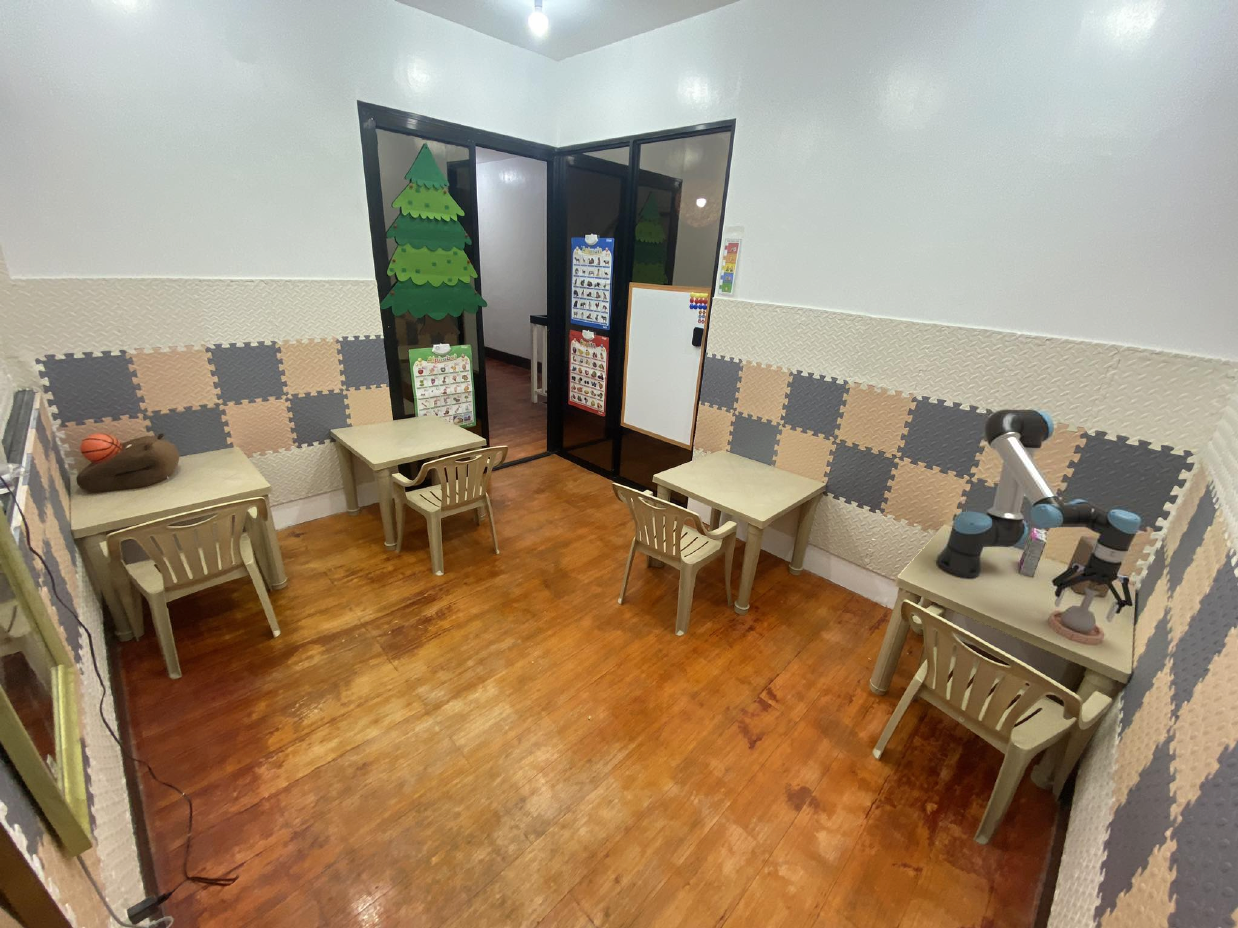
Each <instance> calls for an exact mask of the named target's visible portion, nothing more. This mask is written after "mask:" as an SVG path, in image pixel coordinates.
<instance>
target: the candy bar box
mask: <svg viewBox="0 0 1238 928" xmlns="http://www.w3.org/2000/svg"><path fill="white" fill-rule="evenodd" d="M1027 537H1028V538H1027V539H1026V543H1025V546H1024V549H1023V551H1022V554H1021V557H1020V560H1019V563H1018V567H1019V568H1018V573H1019V574H1021V575H1025V576H1027V577H1031V578H1033V577H1034V575H1035V573H1036V570H1037V567H1038V565H1039V563H1040V560H1041V558H1042V555H1043V552H1044V551H1045V547H1046V545H1047V543H1048V542H1047V531H1046V530H1043V529H1039V528H1036V527H1031V529H1030V532H1029V533H1028V536H1027Z"/></svg>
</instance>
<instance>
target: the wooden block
mask: <svg viewBox="0 0 1238 928" xmlns="http://www.w3.org/2000/svg"><path fill="white" fill-rule="evenodd" d="M1097 540H1098V537H1093V536H1085V535H1082V536H1080V538H1079V539H1078V543H1077V545H1076V547H1075V550H1074V552H1073V554H1072V556H1071V559H1070V561H1069V564H1068V566H1067V569H1069V568H1070V567H1071V566H1072V564H1073V563H1074V562H1076V563H1078V564H1079V565H1081V566H1085V565H1086V564H1087V562H1088V560H1089V558H1090V555H1091V554H1092V553H1093V549H1094V546H1095V544H1096V542H1097ZM1067 569H1066V570H1067ZM1081 573H1084V571H1083V570H1080V571H1077V572H1076V573H1075V574H1073V575H1072V576H1070V577H1069V578H1068V579H1070V578H1073V577H1075V576H1078V575H1079V574H1081ZM1068 579H1066V580H1068ZM1113 582H1114V581H1112V582H1111V583H1112V584H1113ZM1089 583H1093V582H1090V581H1089V580H1088V581H1085V582H1080V583H1078V584H1075V585H1073V586H1070V587H1071V589H1073V590H1074V591H1075V592H1076V593H1079V594H1083V595H1084V594H1086V592H1085V586H1086V585H1089ZM1098 589H1100V592H1099V594H1098V595H1096V596H1098V597H1106V596H1107V594H1108V592H1109V590H1110V589H1109V587H1108V586H1107V584H1103V585H1101V584H1100V587H1099V588H1098Z"/></svg>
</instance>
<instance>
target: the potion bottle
mask: <svg viewBox="0 0 1238 928" xmlns="http://www.w3.org/2000/svg"><path fill="white" fill-rule="evenodd" d="M1099 587H1100V584H1098V583H1089V585H1086V586H1085V592H1086V594H1085V595H1084V597H1083V599H1082V601H1081V603H1080V605H1074V604H1073V605H1071V606H1068V607H1067V608H1066V609H1065V610H1063V611H1064V612H1063V613H1062V614H1061V620H1062V622H1063V623H1062V625H1063V626H1064V627H1065V628H1067V629H1069V630H1071V631H1073V632H1076V633H1079V634H1083V635H1085V634H1088V632H1091V631H1092V630H1093V629H1094V628H1095V626H1096V624H1097V621H1096V617H1095V613H1094V612H1092V611H1091V610H1090V607H1091V604H1092V603H1093V600H1094V599H1095V596H1096V595H1098V594H1099V592H1100V589H1098V588H1099Z"/></svg>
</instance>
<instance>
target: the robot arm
mask: <svg viewBox="0 0 1238 928" xmlns="http://www.w3.org/2000/svg"><path fill="white" fill-rule="evenodd" d="M1054 430H1055V426H1054V420H1053V419H1052V418H1051V416H1050V415H1049V414H1048V413H1047V412H1045V411H1043V410H1035V409H1008V408H1007V409H1000V410H996V411H995V412H993V413H991V415H989V417H987V419H986V420H985V423H984V427H983V433H984V437H985V440H986V442H987V444H988V445H989V447H990V448H991V449H992V450H993V451H994V450H995V451H996V452H997V453H998V455H999V456H1000V459H1002V461H1003V462H1002V467H1001V471H1000V476H999V480H998V483H997V487H996V493H995V496H994V502H993V506H992V507H990V508H989V509H987V511H986V514H985V513H982V512H978V511H977V512H975V511H970V510H969V511H963V512H960V513H958V514H957V515H956V516H955V519H954V521H953V522H952V527H951V531H950V532H949V537H948V541H947V543H946V546H945V547H944V548H943V550H942V551H941V552H940V553H939V554H938V556H937V558H936V560H935V563H936V566H938V568H939V569H940V570H942V571H943V572H945V573H948V574H950V575H952V576H955V577H959V578H961V579H962V578H963V579H977V578H978V577H980V575H981V572H982V565H981V554H982V553H983V549H984V548H1010V547H1017V546H1020V545H1021V544H1023V543H1024V542H1025V541H1026V540H1027V539H1028V538H1027V537H1028V536H1029V527H1028V526H1027V525H1028V524H1027V522H1026V521H1025V520H1024V519H1025V517H1024V515H1023V514H1022V513H1021V509H1022V505H1023V503H1024V502H1023V501H1024V497H1026V498H1027V500H1028V502H1029V503H1030V504H1031V506H1032V509H1031V511H1030V515H1031V517H1030V518H1031V521H1032V522H1033V523H1034V524H1035V525H1036V526H1038V527H1041V528H1050V529H1055V528H1086V529H1088V530H1090V531H1092V532H1094V533H1096V534H1098V537H1097V538H1098V540H1097V542H1096V544H1095V546H1094V549H1093V553H1092V554H1091V555H1090V558H1089V560H1088V562H1087V564H1086V565H1085V566H1081V565H1079V564H1078V563H1076V562H1074V563H1073V564H1072V566H1071V567H1070V568H1069V569H1065V571H1063V572H1062V573H1060V574H1058V575H1057V576H1056V577H1055V578H1053V579H1052V580H1051V582H1052V585H1053V586H1054V587H1056V589H1055V592H1054V596H1055V597H1056V598H1055V600H1054V605H1055V607H1056V608H1059V607H1060V605H1061V603H1062V600H1063V598H1064V596H1065V594H1066V589H1067V588H1070V587H1071V586H1073V585H1075V584H1078V583H1080V582H1085V581H1088V580H1089V581H1090V582H1093V583H1098V584H1101V585H1103V584H1107V586H1108V587H1109V590H1110V593H1112V595H1113V597H1114V598H1115V600H1116V601H1115V600H1113V602H1112V604H1111V606H1110V608H1109V610H1108V612H1107V614H1106V616H1105V618H1106V621H1107V622H1108V623H1112V621H1113V619H1114V617H1115V615H1116V614H1118V615H1119V614H1120V613H1121V611H1122V610H1123V608H1125V607H1126V606H1128V607H1133V606H1134V604H1133V601H1132V595H1131V592H1130V588H1129V583H1130V578H1129V576H1128V575H1127V574H1122V575H1121V574H1118V573H1119V571H1120V569H1121V566H1122V564H1123V562H1124V560H1125V557H1126V556H1127V553H1128V552H1129V549H1130V547H1131V545H1132V542H1133V540H1134V538H1135V536H1136V535H1137V533H1138V532H1139V528H1140V525H1141V523H1142V519H1141V517H1140V516H1139V515H1137V514H1136V513H1133V512H1130V511H1127V510H1123V509H1111V510H1110V511H1108V510H1106V509H1104V508H1102V507H1100V506H1098V505H1096V504H1094V503H1092V502H1089V501H1086V500H1084V499H1082V498H1081V499H1080V498H1077V499H1074V500H1071V501H1069V502H1068V503H1065V504H1064V503H1063V501H1062V500H1061V498H1060V497H1059V495H1057V493H1056V491H1055V490H1054V488H1053V487H1052V485H1051V484H1050V483H1049V481H1048V480H1047V478H1046V477H1045V475H1044V474H1043V472H1042V471H1041V470H1040V468H1039V467H1038V465H1037V464H1036V462H1035V461H1034V455H1035V453H1036V452H1037V451H1039V450H1040V449H1042V444H1043V442H1045V441H1048V440H1049V439H1050V438H1051V437H1052V436H1053V433H1054ZM1080 570H1083V571H1084V573H1081V574H1079V575H1078V576H1075V577H1073V578H1070V579H1068V578H1069V577H1070V576H1072V575H1073V574H1075V573H1076V572H1077V571H1080ZM1066 579H1068V580H1066ZM1116 580H1118V582H1119V583H1120V584H1121V588H1122V593H1123V596H1124V599H1122V597H1121V596H1120V594H1119V593H1118V591H1117V589H1116V587H1115V586H1114V584H1113V582H1114V581H1116ZM1112 581H1113V582H1112ZM1111 582H1112V583H1111Z"/></svg>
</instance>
